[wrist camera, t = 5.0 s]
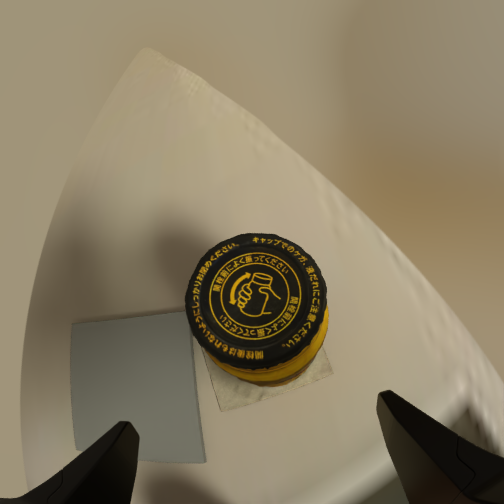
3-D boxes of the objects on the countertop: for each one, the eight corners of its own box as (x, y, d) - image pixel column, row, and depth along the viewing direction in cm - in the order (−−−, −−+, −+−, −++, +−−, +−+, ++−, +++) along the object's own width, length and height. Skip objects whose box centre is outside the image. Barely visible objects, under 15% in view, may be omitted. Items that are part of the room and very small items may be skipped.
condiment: (333, 373, 19) (381, 345, 9) (222, 411, 19) (143, 423, 8) (297, 286, 23) (298, 183, 12) (195, 323, 22) (114, 250, 12)
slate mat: (206, 461, 17) (204, 463, 16) (80, 449, 17) (76, 449, 17) (190, 312, 23) (188, 310, 22) (75, 325, 23) (72, 323, 23)
